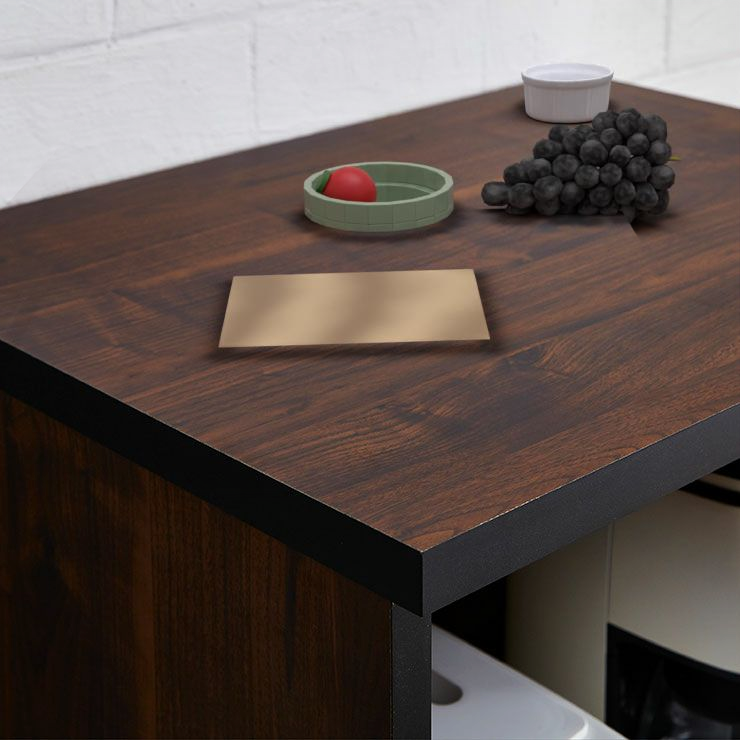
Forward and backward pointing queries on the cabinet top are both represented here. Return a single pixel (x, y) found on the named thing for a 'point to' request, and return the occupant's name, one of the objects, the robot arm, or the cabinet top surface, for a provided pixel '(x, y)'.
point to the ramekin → (566, 91)
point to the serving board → (353, 308)
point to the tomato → (347, 185)
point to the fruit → (592, 169)
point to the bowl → (385, 199)
